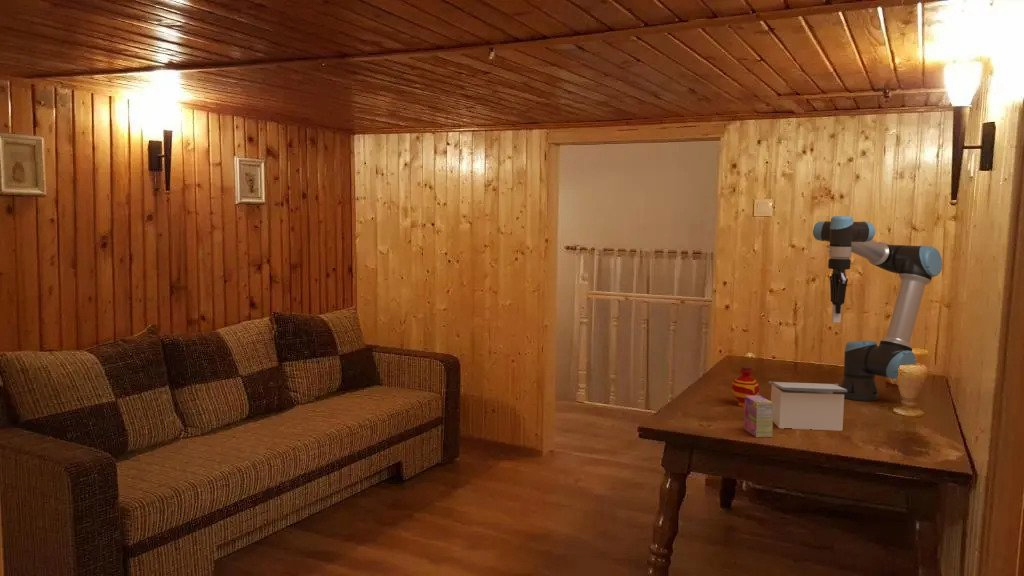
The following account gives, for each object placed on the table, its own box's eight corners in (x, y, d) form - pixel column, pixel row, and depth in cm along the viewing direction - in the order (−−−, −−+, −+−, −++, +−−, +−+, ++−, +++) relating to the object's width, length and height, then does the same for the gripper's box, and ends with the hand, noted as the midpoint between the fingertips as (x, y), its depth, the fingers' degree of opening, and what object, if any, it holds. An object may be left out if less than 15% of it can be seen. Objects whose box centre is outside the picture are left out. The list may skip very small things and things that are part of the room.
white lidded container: (835, 420, 274) (837, 383, 273) (848, 431, 261) (850, 391, 259) (766, 417, 276) (768, 380, 275) (776, 428, 263) (777, 389, 262)
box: (743, 429, 261) (744, 395, 260) (759, 429, 261) (761, 395, 260) (755, 437, 251) (757, 402, 250) (772, 437, 251) (773, 402, 250)
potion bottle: (759, 403, 299) (760, 365, 297) (758, 409, 289) (760, 370, 287) (731, 401, 302) (732, 363, 301) (729, 406, 292) (731, 368, 291)
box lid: (833, 386, 273) (833, 383, 273) (847, 392, 258) (847, 389, 258) (773, 384, 275) (773, 381, 275) (783, 390, 260) (783, 387, 260)
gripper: (823, 257, 286) (820, 319, 288) (834, 258, 273) (831, 324, 276) (844, 257, 286) (840, 320, 288) (856, 259, 273) (852, 324, 275)
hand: (836, 322), depth 282 cm, fingers closed
